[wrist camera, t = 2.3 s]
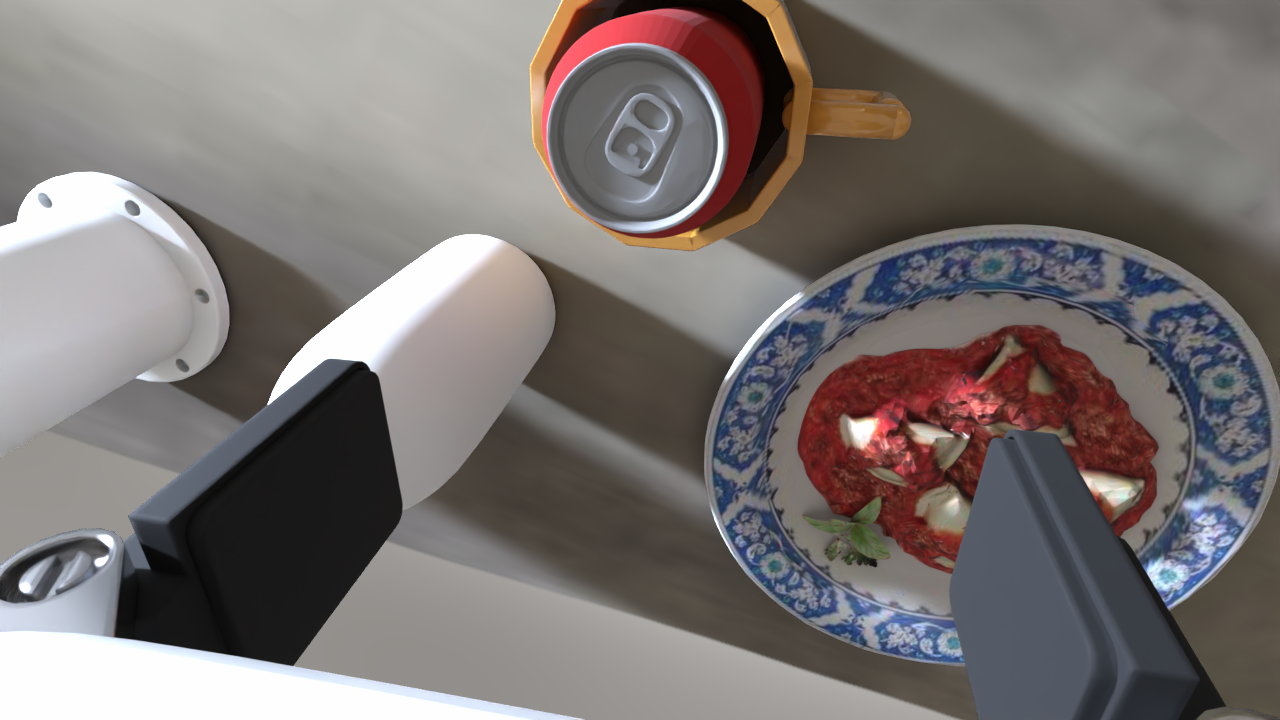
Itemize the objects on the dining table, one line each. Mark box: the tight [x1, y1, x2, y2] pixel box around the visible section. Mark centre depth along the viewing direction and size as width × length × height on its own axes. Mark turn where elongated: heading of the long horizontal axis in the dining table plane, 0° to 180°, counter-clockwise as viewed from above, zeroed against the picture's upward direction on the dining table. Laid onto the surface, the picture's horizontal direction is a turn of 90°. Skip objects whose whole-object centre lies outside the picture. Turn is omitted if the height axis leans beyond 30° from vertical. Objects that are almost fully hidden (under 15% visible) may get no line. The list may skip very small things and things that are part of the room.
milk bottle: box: [268, 234, 555, 511], centre depth 29 cm, size 8×8×20 cm
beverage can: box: [542, 6, 766, 239], centre depth 26 cm, size 7×7×12 cm
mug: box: [530, 0, 911, 251], centre depth 28 cm, size 14×10×6 cm
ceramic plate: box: [704, 224, 1280, 666], centre depth 35 cm, size 26×26×3 cm
